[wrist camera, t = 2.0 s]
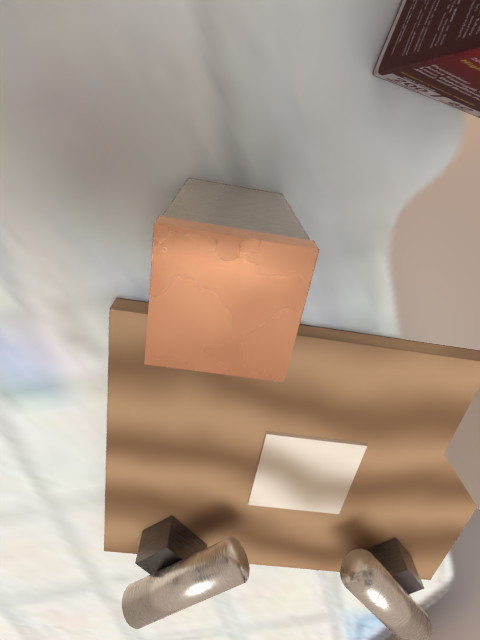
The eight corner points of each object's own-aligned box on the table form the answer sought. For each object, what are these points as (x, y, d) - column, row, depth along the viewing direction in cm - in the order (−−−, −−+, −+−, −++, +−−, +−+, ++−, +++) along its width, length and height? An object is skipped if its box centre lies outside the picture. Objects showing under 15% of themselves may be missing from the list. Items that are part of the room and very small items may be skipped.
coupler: (187, 176, 21) (154, 223, 12) (283, 193, 21) (319, 249, 12) (178, 268, 23) (144, 364, 14) (264, 281, 24) (284, 382, 15)
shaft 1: (219, 490, 29) (216, 563, 25) (253, 522, 31) (257, 596, 26) (128, 537, 32) (109, 613, 27) (164, 564, 33) (152, 640, 29)
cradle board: (116, 298, 24) (108, 311, 22) (546, 360, 26) (567, 376, 25) (109, 533, 34) (103, 554, 32) (423, 562, 36) (431, 583, 35)
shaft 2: (319, 528, 32) (335, 603, 27) (369, 506, 30) (395, 579, 26) (371, 582, 35) (393, 657, 30) (418, 564, 34) (448, 638, 29)
